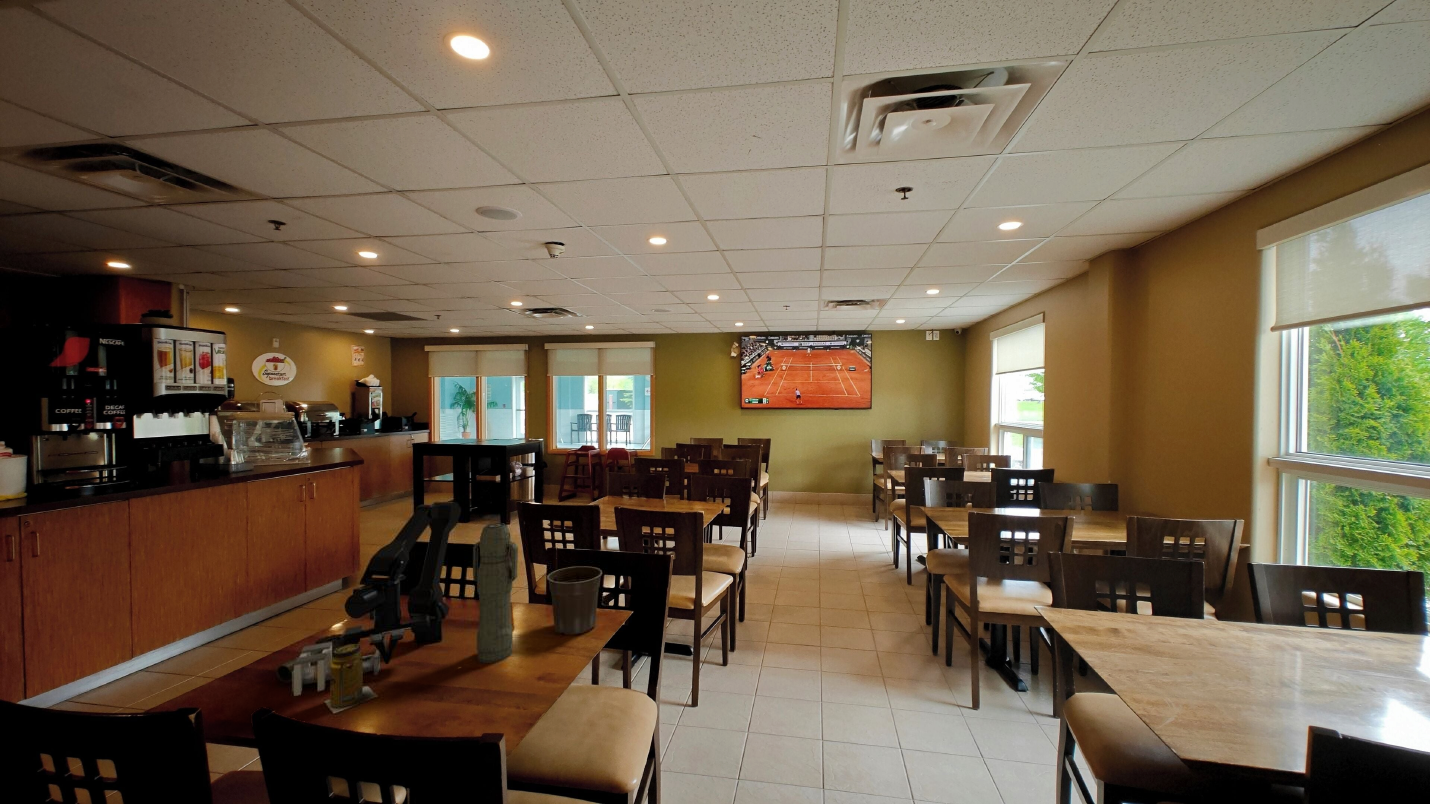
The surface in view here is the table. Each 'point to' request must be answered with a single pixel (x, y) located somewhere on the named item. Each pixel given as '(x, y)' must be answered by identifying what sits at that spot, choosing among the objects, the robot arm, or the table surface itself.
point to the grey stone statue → (495, 592)
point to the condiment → (347, 679)
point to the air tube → (312, 672)
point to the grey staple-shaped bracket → (305, 662)
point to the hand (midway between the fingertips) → (387, 663)
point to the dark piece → (286, 669)
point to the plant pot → (574, 598)
